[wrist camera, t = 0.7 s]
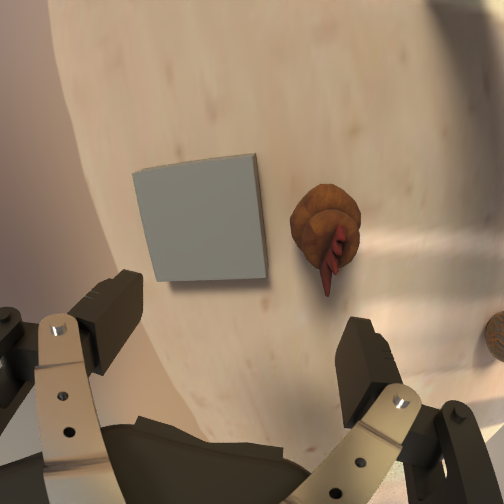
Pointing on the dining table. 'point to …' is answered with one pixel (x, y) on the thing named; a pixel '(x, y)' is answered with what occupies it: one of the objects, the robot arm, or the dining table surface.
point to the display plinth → (203, 219)
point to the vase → (496, 336)
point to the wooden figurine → (327, 229)
